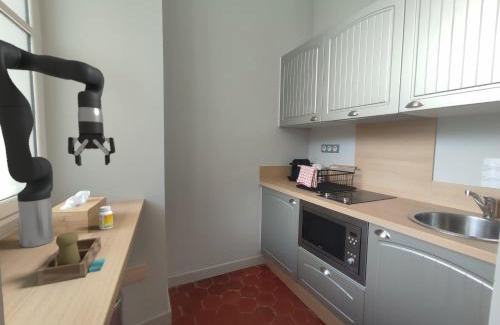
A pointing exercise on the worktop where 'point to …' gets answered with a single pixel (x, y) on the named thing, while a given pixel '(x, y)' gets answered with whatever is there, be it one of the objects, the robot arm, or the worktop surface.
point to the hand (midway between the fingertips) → (93, 165)
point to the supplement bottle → (105, 218)
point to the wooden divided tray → (72, 271)
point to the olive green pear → (68, 249)
